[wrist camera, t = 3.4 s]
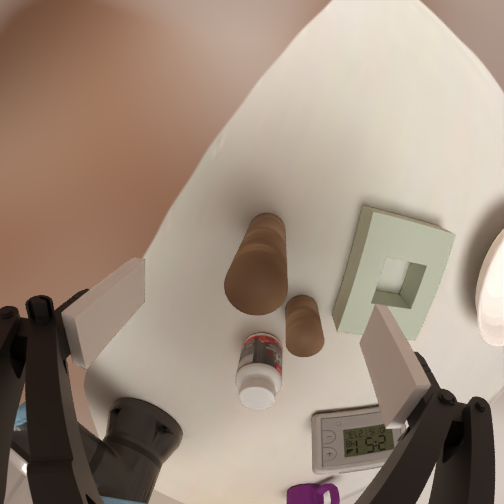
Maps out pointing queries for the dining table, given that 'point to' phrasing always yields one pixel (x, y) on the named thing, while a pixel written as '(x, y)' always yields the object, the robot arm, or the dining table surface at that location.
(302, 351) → the short dowel
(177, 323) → the dining table surface
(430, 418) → the robot arm
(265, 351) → the pill bottle
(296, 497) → the mug
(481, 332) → the bowl
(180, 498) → the dining table surface
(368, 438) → the digital clock
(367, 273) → the hole board
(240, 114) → the dining table surface
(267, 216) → the long dowel
